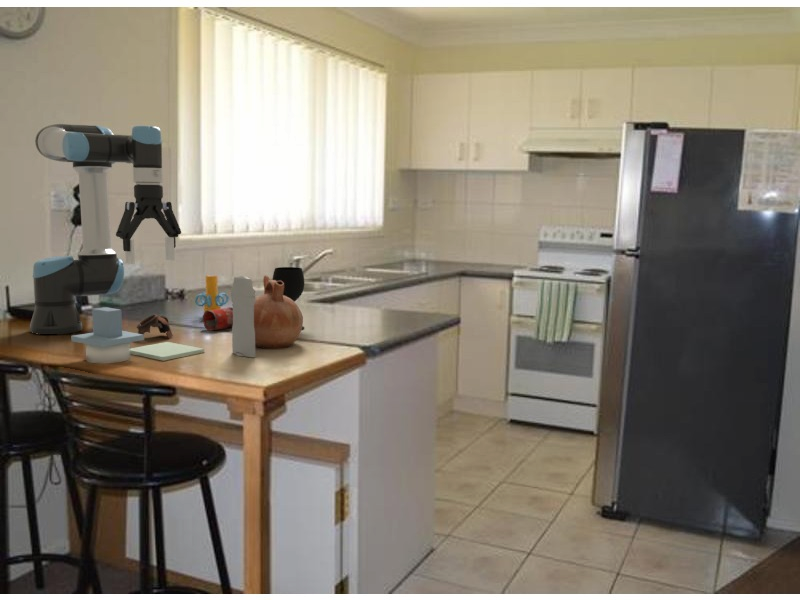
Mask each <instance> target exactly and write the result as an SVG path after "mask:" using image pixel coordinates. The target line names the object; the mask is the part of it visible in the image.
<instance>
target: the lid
mask: <svg viewBox="0 0 800 600" xmlns="http://www.w3.org/2000/svg"><path fill="white" fill-rule="evenodd" d="M91 310H92V311H91V314H92V316H91V317H92V332H88V333H82V334H81V333H80V334H73V335H71V337H70V338H71V339H70V341H71V342H74V343H79V344H84V345H86V344H88V345H92V346H97V347H106V346H111V345H117V344H123V343H129V342H130V343H133V342H139V341H144V340H145V334H144V335H143V334H138V332H131V331H126V330H123V319H122V317H123V316H122V309H119V308H112V307H107V306H103V307H97V308H96V307H95V308H91Z"/></svg>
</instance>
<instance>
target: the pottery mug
mask: <svg viewBox="0 0 800 600" xmlns="http://www.w3.org/2000/svg"><path fill="white" fill-rule="evenodd" d="M151 327H152V328H158V331H159V334H160V333H161V334H165V335H166V336H167V339H168V340H170V339H172V338H173V336H174V335H173V333H172V329H171V327H170V324H169V319H168V317H166V316H165V315H161V316H159V315H158V314H157V313H155V314H153V315H149V316H148V317H146V318H145V319H144V320H142V321H141V322H140V323H139V324H137V326H136V328H137V334H143V335H144V336H145V333H149V334H150V333H151Z"/></svg>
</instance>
